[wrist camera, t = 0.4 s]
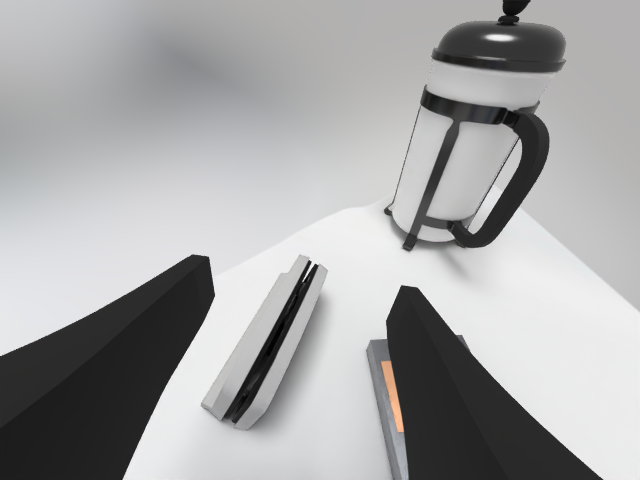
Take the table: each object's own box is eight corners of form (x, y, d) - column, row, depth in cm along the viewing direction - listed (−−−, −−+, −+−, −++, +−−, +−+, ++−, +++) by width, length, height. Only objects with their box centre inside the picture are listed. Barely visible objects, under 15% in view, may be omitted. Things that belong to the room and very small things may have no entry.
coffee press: (360, 230, 43) (408, -23, 22) (405, 195, 51) (469, -9, 31) (461, 288, 34) (687, -33, 14) (494, 234, 43) (662, -10, 23)
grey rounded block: (279, 277, 35) (300, 232, 27) (309, 293, 35) (337, 253, 27) (197, 410, 23) (197, 392, 16) (243, 434, 23) (263, 428, 16)
